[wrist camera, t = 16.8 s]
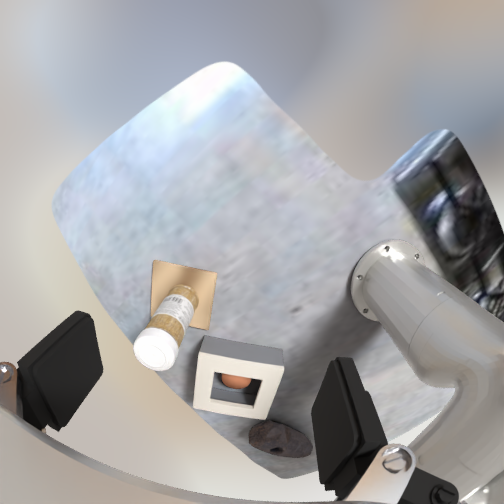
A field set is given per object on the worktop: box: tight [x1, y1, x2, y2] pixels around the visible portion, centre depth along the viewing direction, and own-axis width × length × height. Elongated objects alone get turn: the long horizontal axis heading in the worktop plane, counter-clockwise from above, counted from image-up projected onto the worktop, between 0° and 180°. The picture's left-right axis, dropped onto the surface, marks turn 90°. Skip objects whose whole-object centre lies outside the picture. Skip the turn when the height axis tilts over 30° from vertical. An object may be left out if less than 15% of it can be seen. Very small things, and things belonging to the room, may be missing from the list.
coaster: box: [151, 260, 217, 330], centre depth 38 cm, size 9×9×1 cm
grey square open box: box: [193, 335, 284, 420], centre depth 39 cm, size 12×12×5 cm
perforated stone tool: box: [249, 420, 313, 458], centre depth 43 cm, size 15×5×7 cm, turn 52°
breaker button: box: [222, 373, 251, 389], centre depth 40 cm, size 5×5×2 cm
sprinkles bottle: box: [133, 284, 199, 371], centre depth 31 cm, size 5×5×14 cm
